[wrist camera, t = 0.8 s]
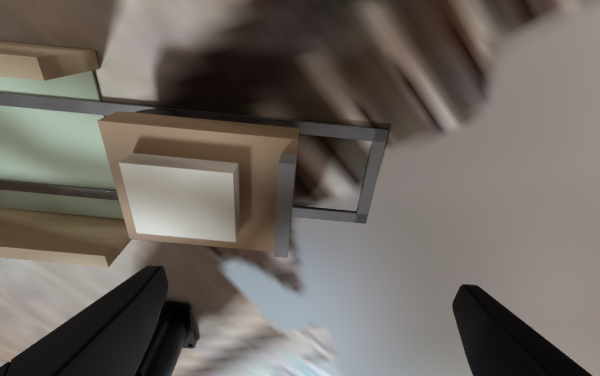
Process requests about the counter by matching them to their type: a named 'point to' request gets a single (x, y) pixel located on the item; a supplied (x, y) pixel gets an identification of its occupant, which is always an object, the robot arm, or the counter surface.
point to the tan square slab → (203, 179)
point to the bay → (55, 161)
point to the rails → (305, 127)
